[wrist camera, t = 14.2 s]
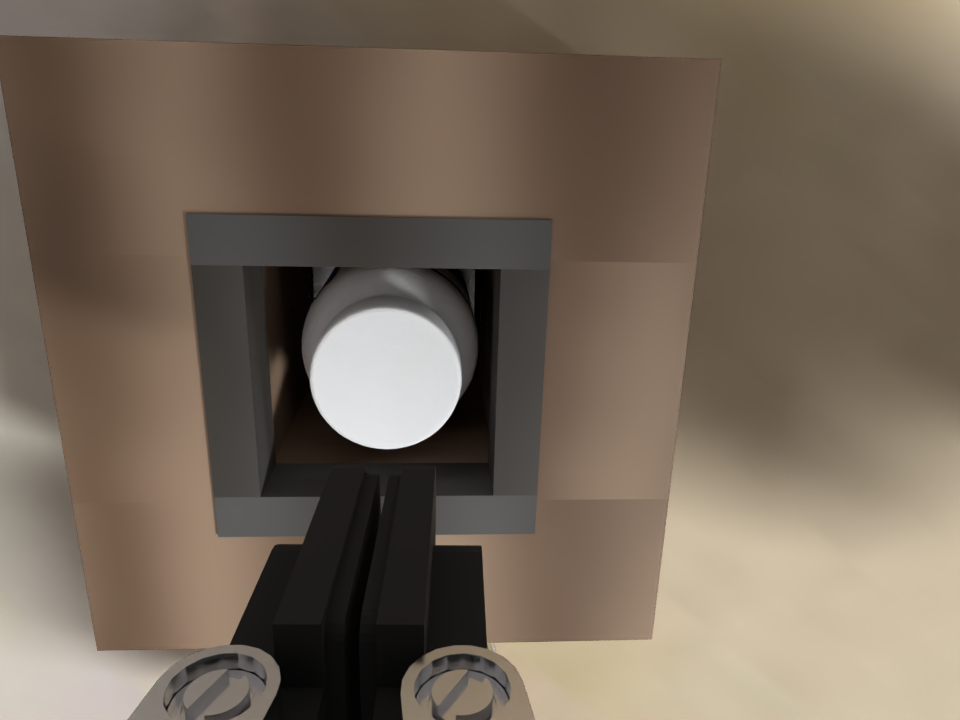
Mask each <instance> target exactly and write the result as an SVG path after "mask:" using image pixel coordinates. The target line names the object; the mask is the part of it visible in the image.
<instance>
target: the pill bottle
mask: <svg viewBox="0 0 960 720" xmlns="http://www.w3.org/2000/svg"><path fill="white" fill-rule="evenodd" d="M302 357H303V362H304V366H305V370H306V373H307V376H308V378H309V380H310V389H311V393H312V397H313V399H314V402H315V404H316V406H317V408H318V410H319V412H320V414H321V415H322V416H323V418H324V419H325V420H326V422H327V423H328V424H329V425H330V426H331V427H332V428H333V429H334V430H335V431H337V432H338V433H339V434H340V435H342V436H343V437H345V438H347V439H349V440H351V441H353V442H355V443H357V444H360V445H363V446H366V447H370V448H377V449H397V448H403V447H407V446H411V445H414V444H417V443H419V442H421V441H423V440H425V439H426V438H428V437H430V436H431V435H433V434H434V433H435V432H436V431H438V430H439V429H440V428H441V427H442V426H443V425H444V424H445V422H446V421H447V420H448V419H449V417H450V415H451V414H452V412H453V411H454V409H455V406H456V404H457V402H458V401H459V399H460V398H461V397H462V395H463V394H464V392H465V391H466V389H467V387H468V386H469V384H470V382H471V380H472V377H473V374H474V371H475V368H476V363H477V358H478V334H477V327H476V322H475V318H474V314H473V310H472V306H471V302H470V298H469V294H468V290H467V286H466V283H465V280H464V278H463V276H462V274H461V272H460V270H459V269H446V268H372V267H335V268H334V270H333V271H332V273H331V275H330V276H329V278H328V279H327V281H326V282H325V284H324V285H323V287H322V288H321V290H320V291H319V293H318V294H317V296H316V297H315V299H314V301H313V303H312V305H311V307H310V308H309V311H308V313H307V316H306V320H305V323H304V327H303V333H302Z"/></svg>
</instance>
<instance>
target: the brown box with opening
mask: <svg viewBox="0 0 960 720" xmlns="http://www.w3.org/2000/svg"><path fill="white" fill-rule="evenodd" d="M720 66H721V59H696V58H665V57H635V56H605V55H575V54H545V53H515V52H484V51H454V50H424V49H394V48H364V47H334V46H303V45H273V44H243V43H213V42H183V41H153V40H122V39H92V38H62V37H32V36H2V35H0V81H1V87H2V93H3V99H4V105H5V111H6V117H7V122H8V128H9V134H10V140H11V146H12V152H13V158H14V164H15V169H16V175H17V181H18V187H19V193H20V199H21V205H22V211H23V216H24V222H25V228H26V234H27V240H28V246H29V252H30V258H31V263H32V269H33V275H34V281H35V287H36V293H37V299H38V305H39V311H40V316H41V322H42V328H43V334H44V340H45V346H46V352H47V358H48V363H49V369H50V375H51V381H52V387H53V393H54V399H55V405H56V410H57V416H58V422H59V428H60V434H61V440H62V446H63V452H64V458H65V463H66V469H67V475H68V481H69V487H70V493H71V499H72V505H73V510H74V516H75V522H76V528H77V534H78V540H79V546H80V552H81V557H82V563H83V569H84V575H85V581H86V587H87V593H88V599H89V605H90V610H91V616H92V622H93V628H94V634H95V640H96V646H97V651H105V650H154V649H204V648H212V647H217V646H222V645H230V642H231V640H232V638H233V636H234V633H235V631H236V629H237V627H238V624H239V622H240V620H241V618H242V616H243V613H244V611H245V609H246V607H247V604H248V602H249V600H250V598H251V595H252V593H253V591H254V589H255V586H256V584H257V582H258V580H259V577H260V575H261V573H262V571H263V568H264V566H265V564H266V562H267V559H268V557H269V555H270V553H271V551H272V549H273V547H274V546H275V545H277V544H303V542H304V539H305V536H306V534H307V531H308V528H309V526H310V523H311V520H312V518H313V515H314V512H315V510H316V507H317V505H318V502H319V499H320V497H321V494H322V491H323V489H324V486H325V483H326V481H327V478H328V475H329V473H330V470H331V468H332V466H333V465H354V466H367V468H368V474H375V475H380V487H381V513H382V508H383V503H384V498H385V493H386V488H387V484H388V479H389V475H401V473H402V467H403V466H436V545H481V546H482V559H483V578H484V597H485V616H486V635H487V643H500V642H549V641H599V640H648V639H652V633H653V625H654V617H655V608H656V600H657V592H658V583H659V575H660V567H661V558H662V550H663V542H664V533H665V525H666V517H667V508H668V500H669V492H670V483H671V475H672V467H673V458H674V450H675V442H676V433H677V425H678V417H679V408H680V400H681V392H682V383H683V375H684V367H685V358H686V350H687V342H688V333H689V325H690V317H691V308H692V300H693V292H694V283H695V275H696V266H697V258H698V250H699V241H700V233H701V225H702V216H703V208H704V200H705V191H706V183H707V175H708V166H709V158H710V150H711V141H712V133H713V125H714V116H715V108H716V100H717V91H718V83H719V75H720ZM308 267H372V268H446V269H482V277H481V315H480V353H479V378H472V380H471V382H470V384H469V386H468V387H467V389H466V391H465V392H464V394H463V395H462V397H461V398H460V399H459V401H458V402H457V404H456V406H455V409H454V411H453V412H452V414H451V415H450V417H449V419H448V420H447V421H446V422H445V424H444V425H443V426H442V427H441V428H440V429H439V430H438V431H436V432H435V433H434V434H433V435H431V436H430V437H428V438H426V439H425V440H423V441H421V442H419V443H417V444H414V445H411V446H407V447H403V448H397V449H377V448H370V447H366V446H363V445H360V444H357V443H355V442H353V441H351V440H349V439H347V438H345V437H343V436H342V435H340V434H339V433H338V432H337V431H335V430H334V429H333V428H332V427H331V426H330V425H329V424H328V423H327V422H326V420H325V419H324V418H323V416H322V415H321V414H320V412H319V410H318V408H317V406H316V404H315V402H314V399H313V397H312V393H311V389H310V380H309V378H308V376H307V373H306V370H305V366H304V362H303V357H302V333H303V327H304V323H305V320H306V316H307V313H308V311H309V308H310V301H309V281H308Z"/></svg>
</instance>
